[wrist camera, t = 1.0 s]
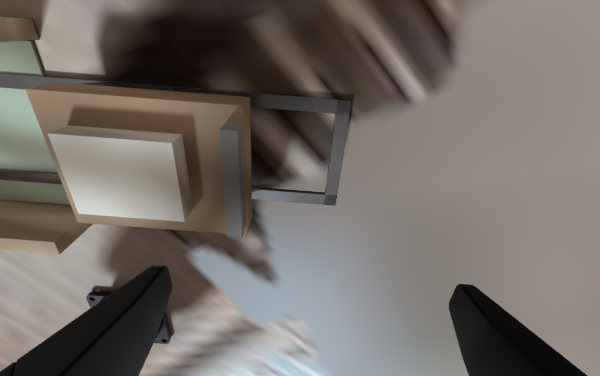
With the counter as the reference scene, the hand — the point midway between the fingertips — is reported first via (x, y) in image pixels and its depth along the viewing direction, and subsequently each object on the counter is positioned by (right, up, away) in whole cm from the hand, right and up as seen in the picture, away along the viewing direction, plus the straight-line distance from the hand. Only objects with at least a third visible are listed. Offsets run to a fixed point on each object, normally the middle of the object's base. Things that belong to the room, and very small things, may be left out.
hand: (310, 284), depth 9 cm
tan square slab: (-8, +6, +10) cm, 14 cm away
